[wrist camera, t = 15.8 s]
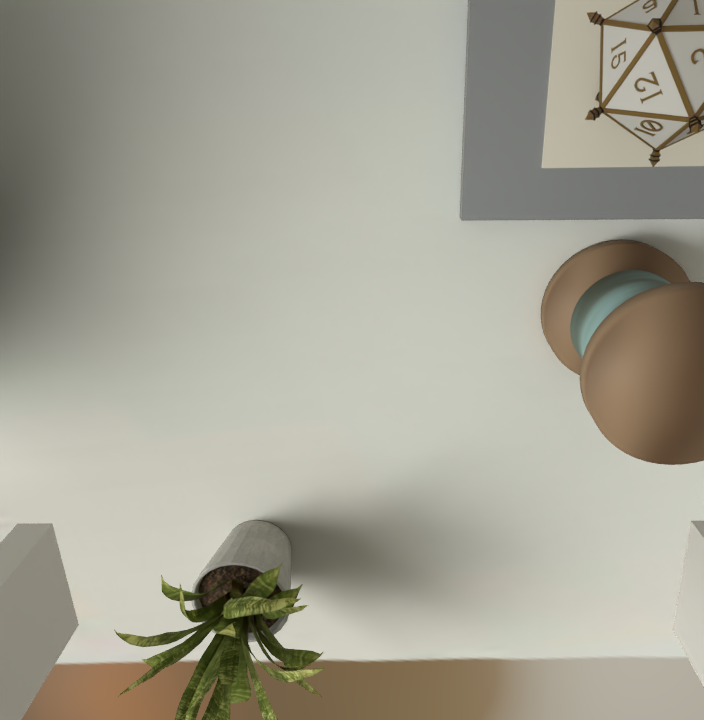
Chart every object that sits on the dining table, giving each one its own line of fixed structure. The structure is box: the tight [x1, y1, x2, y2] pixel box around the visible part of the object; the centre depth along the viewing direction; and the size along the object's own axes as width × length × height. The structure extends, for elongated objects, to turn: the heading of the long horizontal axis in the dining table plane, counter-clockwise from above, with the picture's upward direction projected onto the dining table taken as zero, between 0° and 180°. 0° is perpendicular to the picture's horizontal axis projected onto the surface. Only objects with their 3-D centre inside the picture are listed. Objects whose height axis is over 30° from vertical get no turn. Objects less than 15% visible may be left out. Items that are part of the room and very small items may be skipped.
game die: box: [585, 0, 704, 167], centre depth 31 cm, size 9×8×10 cm
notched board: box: [460, 0, 704, 220], centre depth 36 cm, size 20×16×2 cm
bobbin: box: [541, 240, 704, 465], centre depth 36 cm, size 9×9×12 cm
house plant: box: [115, 520, 323, 720], centre depth 44 cm, size 14×14×16 cm
